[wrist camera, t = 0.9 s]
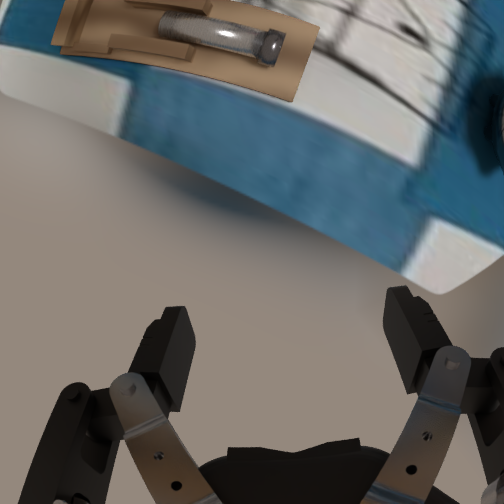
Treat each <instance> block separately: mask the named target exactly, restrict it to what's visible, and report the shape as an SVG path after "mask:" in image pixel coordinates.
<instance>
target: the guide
mask: <svg viewBox="0 0 504 504" xmlns="http://www.w3.org/2000/svg"><path fill="white" fill-rule="evenodd" d="M167 10H171V11H178V12H185V13H191V14H196V15H202V16H207V17H212V18H217V19H221V20H226V21H230V22H234V23H239V24H243V25H246V26H250V27H254V28H257V29H261V30H265V31H269V29H270V28H271V29H275V30H278V31H281V32H284V33H287V34H286V37H285V39H284V42H283V45H282V47H281V50H280V53H279V56H278V58H277V61H276V64H275V66H274V68H272V67H269V66H266V65H263V64H259V63H257V62H258V59H256V58H253V57H249V56H246V55H242V54H239V53H235V52H231V51H227V50H223V49H219V48H215V47H210V46H206V45H201V44H197V43H192V42H187V41H181V40H176V39H170V38H164V37H160V36H159V34H158V27H159V23H160V20H161V17H162V16H163V14H164V13H165V12H166V11H167ZM319 29H320V27H319V26H316V25H313V24H311V23H308V22H305V21H302V20H299V19H296V18H293V17H290V16H287V15H284V14H281V13H277V12H274V11H270V10H267V9H263V8H260V7H256V6H252V5H248V4H244V3H240V2H235V1H231V0H65V3H64V5H63V8H62V11H61V14H60V17H59V19H58V22H57V26H56V29H55V32H54V35H53V38H52V42H51V45H57V46H62V48H61V51H60V54H63V55H76V56H88V57H98V58H107V59H115V60H122V61H129V62H136V63H142V64H148V65H153V66H159V67H164V68H169V69H174V70H179V71H184V72H188V73H193V74H197V75H201V76H205V77H209V78H213V79H217V80H221V81H225V82H228V83H232V84H235V85H239V86H242V87H246V88H249V89H252V90H256V91H259V92H262V93H265V94H268V95H271V96H274V97H277V98H280V99H283V100H286V101H289V102H293V99H294V96H295V94H296V91H297V88H298V85H299V83H300V80H301V77H302V75H303V72H304V69H305V66H306V64H307V61H308V58H309V56H310V53H311V50H312V48H313V45H314V42H315V39H316V37H317V34H318V31H319Z"/></svg>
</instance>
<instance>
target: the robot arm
mask: <svg viewBox="0 0 504 504" xmlns="http://www.w3.org/2000/svg"><path fill="white" fill-rule="evenodd" d="M383 328H384V332H385V335H386V338H387V340H388V343H389V345H390V348H391V350H392V353H393V356H394V359H395V361H396V364H397V367H398V369H399V372H400V375H401V378H402V381H403V383H404V386H405V389H406V392H407V394H411V393H416V392H417V394H418V399H417V401H416V404H415V406H414V408H413V410H412V412H411V415H410V417H409V419H408V421H407V423H406V425H405V427H404V429H403V431H402V433H401V435H400V437H399V439H398V441H397V443H396V445H395V446H394V448H393V450H392V452H391V454H389V453H387V452H385V451H382V450H380V449H377V448H373V447H368V446H361V445H360V440H359V438H354V439H348V440H341V441H334V442H327V443H324V444H321V445H318V446H315V447H312V448H308V449H306V450H302V451H299V452H295V453H291V452H284V451H278V450H272V449H267V448H261V447H250V448H249V447H239V448H238V447H234V448H233V447H228V451H227V456H223V457H220V458H217V459H214V460H211V461H209V462H207V463H205V464H204V465H202V466H200V467H198V465H197V464H196V463H195V461H194V460H193V458H192V457H191V455H190V454H189V452H188V451H187V449H186V448H185V446H184V444H183V443H182V441H181V440H180V438H179V437H178V435H177V433H176V432H175V430H174V428H173V427H172V425H171V424H170V422H169V420H168V416H169V413H170V412H171V411H172V412H180V408H181V404H182V400H183V395H184V392H185V388H186V383H187V379H188V375H189V371H190V367H191V363H192V359H193V355H194V351H195V345H196V341H195V334H194V331H193V328H192V325H191V322H190V319H189V316H188V312H187V310H186V308H185V306H175V307H166V308H165V310H164V312H163V314H162V317H161V319H157V320H154V321H153V322H152V323H151V324H150V325H149V326H148V327H147V329H146V331H145V334H144V336H143V339H142V340H141V343H140V347H138V349H137V352H136V354H135V356H134V359H133V361H132V364H131V366H130V368H129V371H128V373H125V374H122V375H120V376H119V377H117V378H116V379H115V380H114V381H113V382H112V384H111V386H110V387H109V388H105V389H100V390H94V391H91V390H90V389H89V387H88V386H87V385H86V384H84V383H81V382H76V383H72V384H70V385H68V386H67V387H65V388H64V389H63V390H62V392H61V393H60V396H59V398H58V400H57V402H56V404H55V407H54V409H53V411H52V413H51V416H50V418H49V420H48V423H47V425H46V428H45V430H44V432H43V435H42V438H41V440H40V442H39V445H38V447H37V450H36V453H35V455H34V458H33V461H32V463H31V466H30V469H29V472H28V475H27V477H26V481H25V483H24V486H23V489H22V492H21V496H20V499H19V502H18V504H105V501H106V496H107V492H108V488H109V483H110V479H111V475H112V471H113V467H114V462H115V458H116V455H117V451H118V447H119V443H120V440H123V439H124V440H125V442H126V445H127V447H128V449H129V451H130V454H131V456H132V458H133V460H134V462H135V464H136V466H137V468H138V470H139V472H140V474H141V476H142V478H143V480H144V482H145V484H146V486H147V488H148V490H149V492H150V494H151V495H152V497H153V499H154V501H155V503H156V504H459V503H458V502H457V501H455V500H454V499H452V498H451V497H449V496H448V495H446V494H445V493H443V492H442V491H441V490H439V489H438V488H436V487H435V486H433V484H434V481H435V479H436V477H437V475H438V473H439V470H440V468H441V466H442V463H443V461H444V458H445V456H446V453H447V451H448V448H449V446H450V443H451V440H452V438H453V434H454V432H455V429H456V426H457V423H458V420H459V417H460V414H467V415H468V418H469V421H470V424H471V427H472V430H473V434H474V437H475V440H476V443H477V446H478V450H479V453H480V457H481V461H482V464H483V468H484V472H485V476H486V480H487V484H488V486H487V488H486V489H485V490H484V492H483V494H482V497H481V504H504V347H501V348H498V349H496V350H494V351H493V353H492V354H491V357H490V358H470V356H469V354H468V353H467V352H466V351H465V350H464V349H462V348H460V347H457V346H453V345H452V343H451V341H450V340H449V338H448V336H447V334H446V332H445V331H444V329H443V327H442V326H441V324H440V322H439V321H438V319H437V317H436V315H435V314H434V313H433V310H432V309H431V307H430V306H429V304H428V303H427V302H426V301H425V300H423V299H422V298H421V297H419V296H417V297H413V295H412V294H411V292H410V290H409V289H408V287H407V286H398V287H390V288H388V289H387V293H386V300H385V308H384V316H383Z"/></svg>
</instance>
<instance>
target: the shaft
mask: <svg viewBox="0 0 504 504" xmlns="http://www.w3.org/2000/svg"><path fill="white" fill-rule="evenodd" d="M158 34H159V36H160V37H164V38H170V39H176V40H181V41H187V42H192V43H197V44H201V45H206V46H210V47H215V48H219V49H223V50H227V51H231V52H235V53H239V54H242V55H246V56H249V57H253V58H256V59H258V62H257V63H259V64H263V65H266V66H269V67H272V68H274V66H275V64H276V61H277V58H278V56H279V53H280V50H281V47H282V45H283V42H284V39H285V37H286V34H287V33H284V32H281V31H278V30H275V29H271V28H270V29H269V31H265V30H261V29H257V28H254V27H250V26H246V25H243V24H239V23H234V22H230V21H226V20H221V19H217V18H212V17H207V16H202V15H196V14H191V13H185V12H178V11H171V10H167V11H166V12H165V13H164V14H163V16H162V17H161V20H160V23H159V27H158Z"/></svg>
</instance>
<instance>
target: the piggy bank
mask: <svg viewBox="0 0 504 504" xmlns="http://www.w3.org/2000/svg"><path fill="white" fill-rule="evenodd" d="M490 104H491V105H492V107H493V108H494V112H493V118H492V125H489V126H487V127H486V128H485V130H484V135H485V137H486V138H487V139H488V140H490V141H492V142H493V147H494V151H495V154H496V157H497V160H498V162H499V165H500V167H501V169H502V171H503V174H504V90H503V91H502V92H501V94H500V95H496V94H493V95H491V97H490Z"/></svg>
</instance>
